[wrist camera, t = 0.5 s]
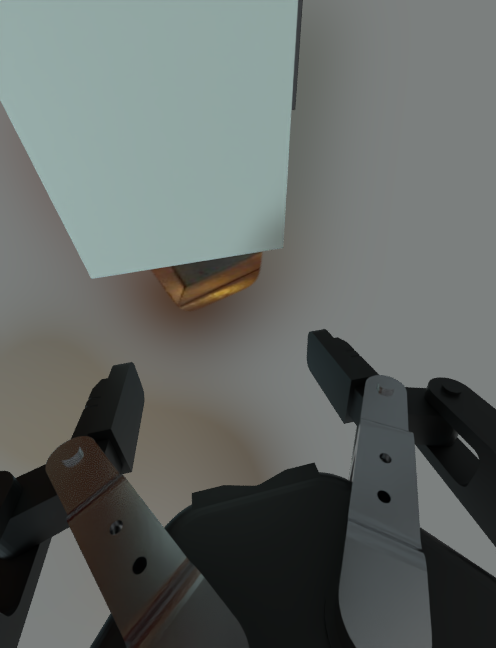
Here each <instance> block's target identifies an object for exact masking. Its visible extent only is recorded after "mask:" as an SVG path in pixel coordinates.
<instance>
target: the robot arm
mask: <svg viewBox="0 0 496 648" xmlns="http://www.w3.org/2000/svg"><path fill="white" fill-rule="evenodd" d="M307 364H308V367H309V370H310V371H311V373H312V375H313V376H314V378H315V379H316V381H317V382H318V384H319V385H320V387H321V389H322V390H323V391H324V393H325V394H326V396H327V398H328V399H329V401H330V403H331V404H332V406H333V407H334V409H335V410H336V412H337V413H338V415H339V417H340V418H341V420H342V421H343V423H344V424H345V423H350V422H355V424H356V425H357V429H356V434H355V441H354V447H353V454H352V462H351V467H350V473H349V479H348V480H347V479H345V478H342V477H340V476H337V475H334V474H329V473H321V472H318V470H317V468H316V465H315V463H311V464H307V465H303V466H299V467H295V468H291V469H287V470H285V471H283V472H281V473H279V474H277V475H276V476H274V477H272V478H271V479H269V480H267V481H265V482H263V483H262V484H260V485H257V486H234V485H233V486H232V485H223V486H219V487H215V488H211V489H207V490H203V491H199V492H195V493H192V505H190V506H188V507H187V508H185V509H184V510H182V511H181V512H180V513H178V514H177V515H176V516H175V517H174V518H173V519H172V520H171V521H170V522H169V523H168V524H167V525H166V526H165V528H164V527H163V526H162V525H161V523H160V522H159V521H158V519H157V518H156V517H155V515H154V514H153V513H152V512H151V510H150V509H149V508H148V506H147V505H146V504H145V502H144V501H143V500H142V499H141V497H140V496H139V495H138V494H137V492H136V491H135V489H134V488H133V487H132V486H131V484H130V483H129V482H128V480H127V479H126V478H125V477H124V475H123V474H125V473H129V472H132V468H133V462H134V456H135V451H136V445H137V440H138V434H139V428H140V423H141V418H142V412H143V406H144V391H143V388H142V385H141V382H140V379H139V377H138V374H137V371H136V368H135V365H134V364H133V363H132V362H130V363H124V364H119V365H114V366H113V367H112V369H111V372H110V374H109V377H108V378H106V379H102V380H101V381H100V382H99V383H98V384H97V385H96V386H95V387H94V388H93V389H92V392H91V394H90V396H89V400H88V401H87V403H86V405H85V409H84V410H83V412H82V415H81V417H80V419H79V422H78V424H77V426H76V428H75V431H74V433H73V435H72V438H71V439H70V440H68V441H66V442H65V443H63V444H62V445H60V446H59V447H58V448H57V449H56V450H55V451H54V452H53V453H52V454H51V455H50V457H49V458H48V460H47V462H46V464H45V465H43V466H41V467H39V468H36V469H34V470H32V471H30V472H28V473H26V474H23V475H21V476H19V477H17V478H15V477H14V476H13V475H12V474H11V473H10V472H8V471H0V648H17V646H18V642H19V639H20V636H21V633H22V630H23V627H24V623H25V620H26V617H27V614H28V611H29V608H30V604H31V601H32V598H33V595H34V592H35V588H36V585H37V582H38V579H39V576H40V573H41V570H42V567H43V563H44V560H45V557H46V554H47V550H48V548H49V544H50V541H51V538H52V537H53V536H54V535H56V534H58V533H60V532H61V531H63V530H65V529H66V528H69V527H70V529H71V531H72V533H73V535H74V537H75V539H76V541H77V543H78V545H79V548H80V550H81V552H82V554H83V556H84V558H85V560H86V562H87V564H88V566H89V568H90V570H91V572H92V574H93V577H94V578H95V581H96V583H97V585H98V587H99V589H100V591H101V593H102V595H103V597H104V599H105V601H106V603H107V606H108V608H109V610H110V612H111V614H110V616H109V617H108V619H107V620H106V622H105V624H104V625H103V627H102V629H101V630H100V632H99V634H98V635H97V637H96V638H95V640H94V642H93V643H92V645H91V647H90V648H496V578H495V577H494V576H492V575H491V574H489V573H488V572H486V571H485V570H483V569H482V568H480V567H479V566H477V565H476V564H474V563H473V562H471V561H470V560H468V559H467V558H465V557H464V556H462V555H461V554H459V553H458V552H456V551H455V550H453V549H452V548H450V547H449V546H447V545H446V544H444V543H443V542H441V541H440V540H438V539H437V538H435V537H434V536H432V535H431V534H429V533H428V532H426V531H425V530H423V529H422V528H420V523H419V508H418V492H417V475H416V459H415V445H416V446H417V447H418V449H419V450H420V451H421V452H422V454H423V455H424V456H425V457H426V459H427V460H428V461H429V463H430V464H431V465H432V466H433V467H434V469H435V470H436V471H437V473H438V474H439V475H440V477H441V478H442V479H443V480H444V482H445V483H446V484H447V485H448V487H449V488H450V489H451V491H452V492H453V493H454V494H455V496H456V497H457V498H458V499H459V501H460V502H461V503H462V505H463V506H464V507H465V508H466V510H467V511H468V512H469V514H470V515H471V516H472V517H473V519H474V520H475V521H476V522H477V524H478V525H479V526H480V528H481V529H482V530H483V531H484V533H485V534H486V535H487V536H488V538H489V539H490V540H491V542H492V543H493V544H494V545H495V547H496V409H495V408H493V407H492V406H491V405H490V404H488V403H487V402H486V401H485V400H483V399H482V398H481V397H480V396H478V395H477V394H476V393H475V392H473V391H472V390H471V389H470V388H468V387H467V386H466V385H464V384H462V383H460V382H458V381H456V380H453V379H449V378H434V379H432V380H430V381H429V383H428V386H427V388H408V387H404V385H403V384H402V383H401V382H399V381H398V380H396V379H394V378H392V377H388V376H384V375H379V374H378V373H377V372H376V371H375V370H374V369H373V368H372V367H371V366H370V365H369V364H368V363H367V362H366V361H365V360H364V359H363V358H362V357H361V356H359V354H358V353H357V352H356V351H354V349H353V348H352V347H351V346H350V345H349V344H348V343H347V342H345V341H344V340H341V339H340V338H333V337H332V336H331V334H330V333H329V332H328V331H327V330H326V329H323V330H317V331H311V332H309V334H308V345H307ZM458 434H459V435H461V437H462V438H463V439H464V440H465V441H466V442H467V443H468V444H469V445H470V446H471V447H472V448H473V449H474V450H475V451H476V453H477V454H478V457H479V459H478V458H477V457H476V456H475V455H474V454H473V453H472V452H471V451H470V450H469V449H468V448H467V447H466V446H465V445H464V444H463V443H462V442H461V441H460V440H459V439H458V438H457V436H458Z"/></svg>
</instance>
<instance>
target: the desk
mask: <svg viewBox="0 0 496 648" xmlns="http://www.w3.org/2000/svg"><path fill="white" fill-rule="evenodd" d="M302 2H303V0H0V101H1V103H2V104H3V106H4V108H5V110H6V112H7V114H8V116H9V118H10V120H11V122H12V124H13V126H14V128H15V130H16V132H17V134H18V136H19V138H20V140H21V142H22V144H23V145H24V148H25V149H26V151H27V153H28V155H29V157H30V159H31V161H32V163H33V165H34V167H35V169H36V171H37V173H38V175H39V177H40V179H41V181H42V183H43V185H44V187H45V189H46V191H47V192H48V194H49V196H50V198H51V200H52V202H53V204H54V206H55V208H56V210H57V212H58V214H59V216H60V218H61V220H62V222H63V224H64V225H65V227H66V230H67V232H68V234H69V236H70V237H71V240H72V241H73V243H74V245H75V247H76V249H77V251H78V253H79V255H80V257H81V259H82V261H83V263H84V265H85V267H86V269H87V271H88V273H89V275H90V277H91V279H93V278H99V277H106V276H112V275H117V274H124V273H131V272H137V271H143V270H149V269H155V268H162V267H168V266H174V265H180V264H186V263H193V262H199V261H205V260H211V259H217V258H224V257H230V256H236V255H242V254H248V253H255V252H261V251H267V250H273V249H280V248H283V240H284V224H285V208H286V191H287V175H288V158H289V142H290V125H291V110H294V109H295V104H296V91H297V75H298V61H299V47H300V32H301V17H302Z"/></svg>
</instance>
